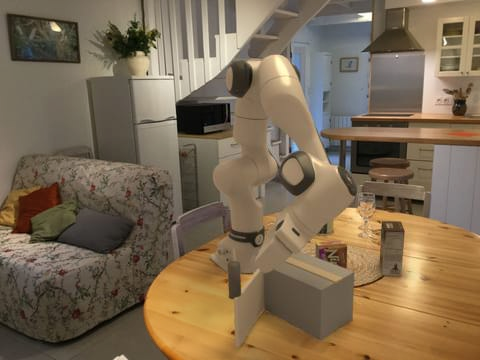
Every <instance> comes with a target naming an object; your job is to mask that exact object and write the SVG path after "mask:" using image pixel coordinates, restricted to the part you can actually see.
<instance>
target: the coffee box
mask: <svg viewBox="0 0 480 360" xmlns="http://www.w3.org/2000/svg"><path fill="white" fill-rule="evenodd" d="M380 228H381V230H380V243H379V244H380V245H379V246H380V248H379V249H380V250H379V267H380V271H381V275H382V276H389V277H402V275H403V274H402V272H403V260H404V258H403V257H404V245H405V234H406V233H405V228H404V225H403V223H402V221H399V220H398V221H396V220H395V221H393V220H392V221H391V220H382V221H381V227H380Z"/></svg>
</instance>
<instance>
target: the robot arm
mask: <svg viewBox="0 0 480 360" xmlns="http://www.w3.org/2000/svg"><path fill="white" fill-rule="evenodd" d="M225 84H226V88H227V91H228V93H229V94H230V95H231V96H232V97H234V98H236V100H235V104H234V105H235V107H234V113H233V114H234V117H233V126H232V138H233V140H234V142H235V143H236V144H237V145H239V146H240V147H241V156H240V157H235V158H231V159H227V160H225V161H223V162H221V163H219V164H217V165H216V166H215V167H214V169H213V172H212V181H213V184H214V186H215V188H217V190H218V191H219V192H221V193H222V194H223V195H224V196H225V197H226V199H227V201H228V204H229V206H230V207H229V208H230V219H231V222H230V223H231V225H230V226H227V227H226V231H228V234H227V236H225V237H224V238H222V239H221V240H220V241H218V242H217V245H216V251H215V252H213V253H212V254H211V255H210V256H209V257H210V258H209V259H210V260H211V261H213V262H214V263H215V264H216V265H217V266H219V267H220V269H222V270H224V271H225V272H227V273H228V263H229V262H231V261H238V262H240V273H241V274H254V273H255V271H256V270H257V269H258V268H259V269H260V270H261V271H262V272H263V273H268V272H270V271H272V270H273V269H275V268H276V267H277V266H279V265H280V264H281V263H283V262H284V261H285V260H287V259H288V258H289V257H290V256H291V255H292V254H293V253H294V254H295V255H297V254H298V253H299V252H302V250H303V249H304V248H305V246H306V244H307V243H309V241H311V240H312V239H313V238H314V237H315V236H317V235H316V234H317V233H319V231H320V230H321V229H322V227H323V226H324V225H325V224H327V223H328V222H331V221H333V222H334V220H335V219H337V218H338V217H339V216H340V215H341V214H342V213H343V212H345V210H347V208H348V207H350V205H351V204H352V203H353V202H354V200H355V198H356V197H357V194H358V188H357V185H356V182H355V180H354V178H353V177H352V176H351V174H350V172H349V171H347V170H346V169H345V168H344V167H343V166H341V165H337V164H336V165H334V164H332V162H331V160H330V157H329V155H328V153H327V150H326V148H325V145H324V143H323V141H322V140H323V139H322V138H321V135H320V133H319V131H318V128H317V126H316V124H315V122H314V118H313V116H312V114H311V111H310V109H309V106H308V103H307V100H306V98H305V94H304V91H303V87H302V85H301V72H300V70H299V68H298V67H297V65H295V64H293V63H291V61H290V60H289V59H288V58H287V57H285V55H281V54H270V55H268V56H266V57H264V58H263V59H261V60H247V61H246V60H244V59H243V60H236V61H232V62H231V63H230V64H229V66H228V68H227V71H226V74H225ZM269 120H270V121H271V122H272V123H273V124H274V125H275V126H277V127H278V128H279V130H281V131H283V133H284V134H286V135H287V136H288V137H289V138H290V139H291V140H292V141H293V142H294V144H295V145H296V147H297V149H298V150H297V151H294V152H291V153H289V154H288V155H287V156H286V157H285V158H284V159H283V161H282V162H281V163H280V166H279V169H278V164H277V161H276V160H275V158H274V157H273V156H272V155H271V153H270V152H269V148H268V146H269V145H268V126H269ZM277 173H278V179H279V182H280V184H281V185H282V186H283V187H284V189H286V190H287V191H288V193H290V194H291V196H293V200H292V201H291V202H290V203H288V205H287V206H286V207H284V209H282V210H281V211H280V212H278V214H276V215H275V221H276V222H275V224H274V225H272V226H271V228H269V230H268V232H267V233H266V229H265V227H266V226H265V225H264V207H263V204H262V202H261V201H259V199H256V198H255V197H254V194H253V189H254V188H255V187H259V186H262V185H266V184H267V183H269V182H270V181H271V180H273V179H274V178H275V177H276V176H277Z"/></svg>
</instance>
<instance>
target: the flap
mask: <svg viewBox="0 0 480 360" xmlns="http://www.w3.org/2000/svg"><path fill="white" fill-rule="evenodd" d="M241 274H242V273H240V262H238V261H231V262H229V263H228V272H227V281H228V283H227V285H228V298H229V299H231V300H233V317H234V318H233V321H234V323H233V324H234V345H235V346H234V347H235V348H238V349H239V348H240V347H241V345H242V344H243V342H244V341H245V339H246V338H247V336H248V334H249V333H250V331H251V330H252V328H253V327H254V325H255V324H256V322H257V320H259V318H260V316H261V315H262V313H263V311H265V310H264V273H263V272H262V271H261V270H260V269H259V268H258V269H257V270H256V271H255V273H252V275H251V276H250V277H249V278H248V280H247V282H246V283H245V284H244V285H243V286H242V279H241V277H242V275H241Z"/></svg>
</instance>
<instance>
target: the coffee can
mask: <svg viewBox="0 0 480 360" xmlns="http://www.w3.org/2000/svg"><path fill="white" fill-rule="evenodd" d="M333 233H334V220H333V221H331V222H328V223H327V224H325V225H324V226H323V227H322V229H321V230H320V231H319V233H317V234H316V235H315V236H330V235H332V234H333Z"/></svg>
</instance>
